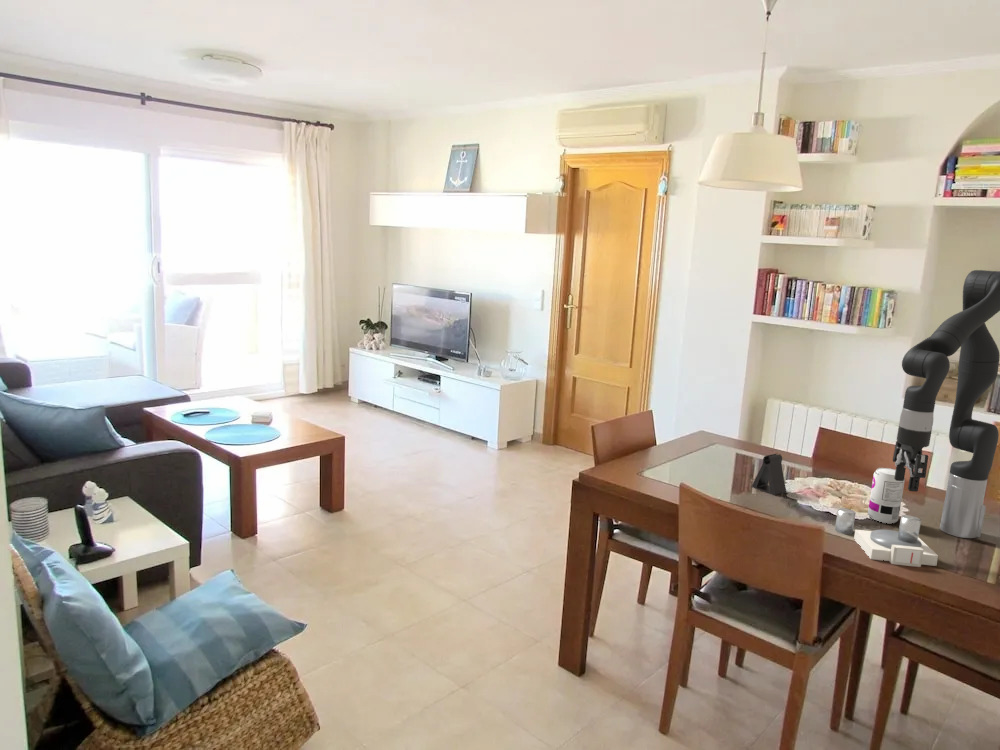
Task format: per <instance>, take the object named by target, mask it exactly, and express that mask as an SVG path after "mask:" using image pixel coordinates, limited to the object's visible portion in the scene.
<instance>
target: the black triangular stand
mask: <svg viewBox="0 0 1000 750" xmlns="http://www.w3.org/2000/svg"><path fill="white" fill-rule="evenodd" d="M782 462H783V456H782V454H779V453H773V454H768V455H764V456H763V458H762V464H761V466H760V468H759V470H758V473H757V475H756V476H755V478H754V480H753V482H752V485H751V488H753V489H755V490H758V491H761V492H764V493H767V494H769V495H772V496H777V495H781V494H784V493H785V494H786V493H787V488H786V482H785V477H784V470H783V466H782Z"/></svg>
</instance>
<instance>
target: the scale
mask: <svg viewBox="0 0 1000 750" xmlns="http://www.w3.org/2000/svg"><path fill="white" fill-rule="evenodd" d="M898 532H899V531H897V530H891V529H875V530H873V531H872V530H863V529H855V530H854V537H853V539H855V540H854V541H855V542H856V543H857V544H859V545H860V546H861V547H860V546H859V547H860V548H861V550H864V551H865V552H864V551H863V552H864V553H865V554H866V555H867V557H868V556H869V557H868V558H869V559H870V560H874V561H875V560H876V561H883V560H884V561H885V562H889V563H890V564H891V565H897V566H906V567H907V566H908V567H917V568H921V567H922V565H923V566H934V567H937V563H938V558H939V555H938V554H937V553H936V552H935V551H934V550H933V549H932V548H931V547H929V545H927V544H926V543H925V542H924V541H923V540H922V539H921V538H920V537H919V536H918V541H917V543H907V542H903V541H901V540H899V539H898ZM884 561H883V562H884Z"/></svg>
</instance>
